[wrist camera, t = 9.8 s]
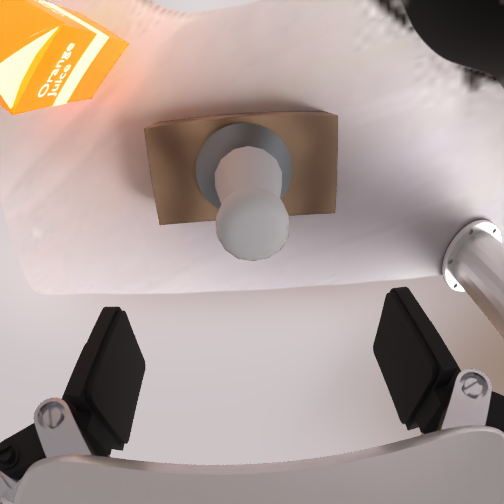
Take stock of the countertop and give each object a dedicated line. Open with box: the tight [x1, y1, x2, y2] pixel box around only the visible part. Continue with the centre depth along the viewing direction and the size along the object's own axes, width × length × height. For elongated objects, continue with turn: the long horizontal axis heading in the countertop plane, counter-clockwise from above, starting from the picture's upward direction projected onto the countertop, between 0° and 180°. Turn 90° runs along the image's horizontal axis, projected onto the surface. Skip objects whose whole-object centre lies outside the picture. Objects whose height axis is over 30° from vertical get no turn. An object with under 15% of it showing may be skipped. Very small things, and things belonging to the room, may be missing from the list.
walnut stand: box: [144, 111, 338, 225], centre depth 31 cm, size 18×10×6 cm, turn 93°
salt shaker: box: [215, 146, 289, 261], centre depth 23 cm, size 6×6×13 cm
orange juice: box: [0, 0, 129, 115], centre depth 17 cm, size 8×9×20 cm
